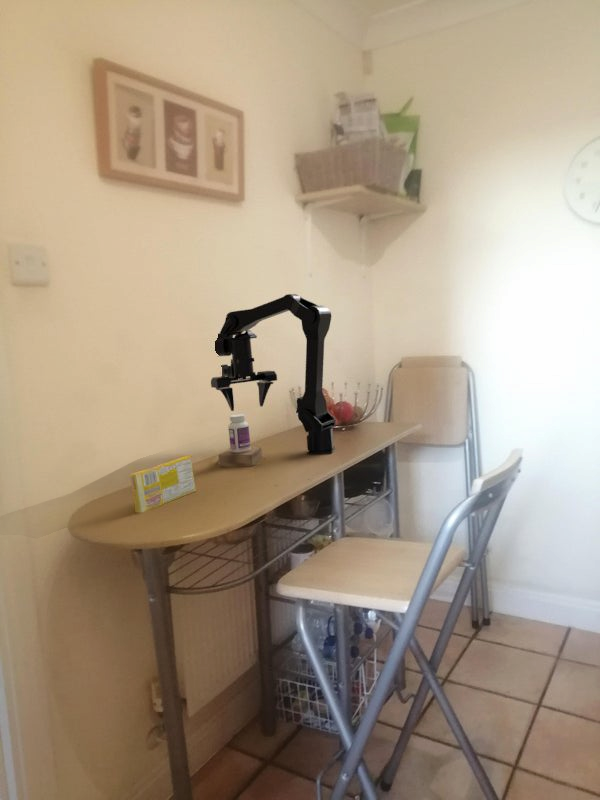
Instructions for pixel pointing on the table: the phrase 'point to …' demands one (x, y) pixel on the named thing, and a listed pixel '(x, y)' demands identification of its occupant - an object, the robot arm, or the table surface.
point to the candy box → (162, 483)
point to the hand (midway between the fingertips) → (247, 408)
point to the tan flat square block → (240, 457)
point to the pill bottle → (239, 434)
